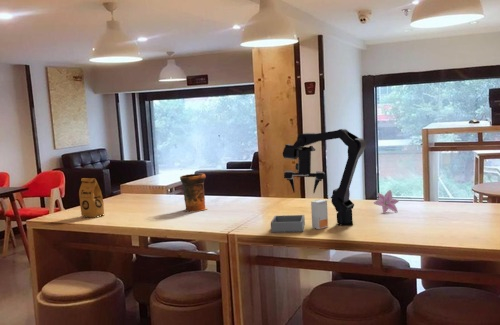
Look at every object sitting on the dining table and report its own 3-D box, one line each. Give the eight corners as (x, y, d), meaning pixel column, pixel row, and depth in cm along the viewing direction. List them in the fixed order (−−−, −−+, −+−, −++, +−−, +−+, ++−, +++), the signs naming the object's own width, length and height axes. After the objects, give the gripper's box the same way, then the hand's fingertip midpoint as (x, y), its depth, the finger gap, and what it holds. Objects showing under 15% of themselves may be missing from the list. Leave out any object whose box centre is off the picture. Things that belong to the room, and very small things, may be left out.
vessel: (196, 213, 258) (192, 176, 257) (177, 211, 267) (174, 176, 266) (213, 208, 270) (210, 173, 268) (195, 207, 279) (192, 173, 277)
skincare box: (318, 229, 206) (317, 202, 205) (311, 228, 209) (310, 201, 208) (328, 226, 209) (327, 200, 208) (321, 225, 213) (320, 199, 212)
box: (304, 224, 216) (304, 214, 216) (302, 232, 203) (302, 221, 203) (275, 225, 219) (274, 215, 218) (271, 232, 206) (270, 222, 205)
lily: (370, 214, 232) (374, 199, 227) (373, 201, 242) (378, 186, 236) (394, 222, 229) (400, 207, 224) (397, 208, 239) (402, 193, 233)
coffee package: (93, 219, 261) (89, 179, 259) (79, 217, 268) (75, 179, 266) (107, 215, 269) (103, 176, 267) (93, 213, 276) (89, 176, 274)
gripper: (324, 158, 227) (323, 190, 230) (285, 157, 230) (284, 189, 232) (325, 161, 216) (324, 195, 219) (284, 160, 219) (283, 193, 221)
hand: (303, 193), depth 223 cm, fingers open, 9 cm apart
